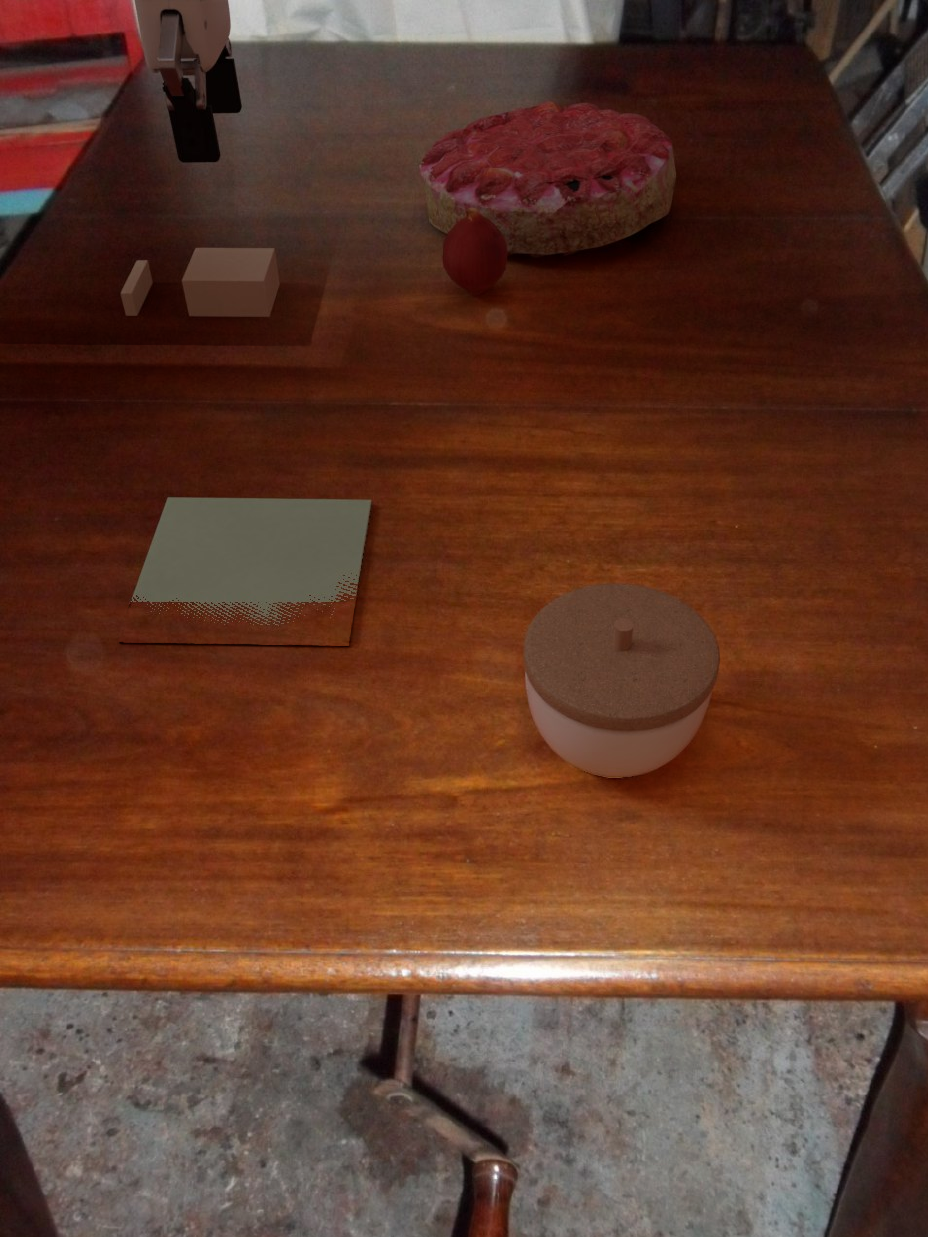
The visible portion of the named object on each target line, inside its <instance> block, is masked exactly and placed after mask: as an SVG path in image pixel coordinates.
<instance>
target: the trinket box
mask: <svg viewBox="0 0 928 1237" xmlns="http://www.w3.org/2000/svg"><path fill="white" fill-rule="evenodd" d="M720 651H721V650H720V645H719V643H718V639H717V637H716V635H715V633H714V631H713V629H712V628H711V625H709V623H708V622H707V621H706V620H705V618H704V617H703V616H702V615H701V614H700V613H698V611H696V609H694V608H693V607H692V606H690V605H689V604H687V603H685V601H682V600H681V599H679V598H677V597H675V596H673V595H671V594H670V593H667V592H665V591H662V590H658V589H656V588H652V587H649V586H645V585H641V584H639V585H638V584H631V583H620V582H618V583H617V582H612V583H611V582H610V583H598V584H591V585H586V586H583V587H579V588H575V589H573V590H570V591H567V592H565V593H564V594H561V595H558V597H556V598H554V599H552V600H551V601H550V602H548V603H546V605H545V606H543V608H541V609H540V610H539V612H538V613H537V614H535V616H534V617H533V618H532V620H531V621H530V623H529V625H528V627H527V629H526V632H525V635H524V640H523V654H522V655H523V656H522V657H523V664H524V678H525V680H524V681H525V690H526V697H527V703H528V707H529V710H530V714H531V716H532V720H533V722H534V725H535V727H536V729H537V731H538V732H539V734H540V735H541V737H542V739H543V741H544V742H545V744H547V746H548V747H549V748H550V749H551V750H552V751H553V752H554V753H555V754H556V755H557V756H558V757H559V758H561V759H562V760H563V761H564V762H566V763H567V764H569V765H571V766H573V767H574V768H576V769H579V770H580V771H583V772H584V771H585V773H587V772H589V773H592V774H595V775H599V776H605V777H628V778H632V776H633V777H636V776H641V775H645V774H648V773H651V772H654V771H656V770H657V769H660V768H661V767H663V766H665V765H667V764H668V763H670V762H671V761H673V760H674V759H676V758H677V757H678V756H679V755H680V754H681V752H683V751H684V749H686V747H687V746H688V745H689V744H690V743H691V742H692V740H693V739H694V737H695V736H696V734H697V732H698V730H699V728H700V727H701V725H702V723H703V721H704V718H705V715H706V713H707V710H708V708H709V705H710V701H711V699H712V698H711V697H712V694H713V690H714V688H715V684H716V682H717V680H718V676H719V670H720V664H721V652H720ZM589 773H588V774H589Z"/></svg>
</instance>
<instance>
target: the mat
mask: <svg viewBox="0 0 928 1237" xmlns="http://www.w3.org/2000/svg"><path fill="white" fill-rule="evenodd" d="M371 505H373V502H372V499H347V498H346V499H343V498H339V499H338V498H265V497H264V498H262V497H260V498H257V497H256V498H255V497H180V496H179V497H178V496H177V497H176V496H173V497H172V496H170V497H169V496H168V497H167V498H166V502H165V504H164V507H163V510H162V511H161V512H162V513H161V515H160V518H159V521H158V524H157V527H156V529H155V532H154V535H153V538H152V541H151V544H150V546H149V548H148V549H149V550H148V552H147V555H146V557H145V561H144V562H143V566H142V568H141V572H140V574H139V577H138V579H137V582H136V585H135V589H134V591H133V593H132V597H131V599H132V601H133V602H136V601H134V599H133V597H134V598H135V599H136V600H137V601H138V602H142V601H143V602H147V601H149V602H150V603H151V604H152V602H160V603H161V602H169V601H170V602H182V603H183V602H188V603H189V604H191V605H192V603H190V602H194V603H195V604H197V605H198V606H200V607H201V608H203V606H201V604H203V605H204V606H206V607H207V608H209V609H211V610H212V609H213V608H210V606H212V607H214V608H215V609H217V610H219V608H216V607H217V606H218V607H220V608H222V609H223V610H225V611H227V612H229V610H226V608H228V609H230V610H232V611H234V612H235V611H236V610H233V609H232V608H230V607H233V608H235V609H236V608H237V607H234V606H235V605H236V606H238V607H240V608H242V609H244V607H241V605H243V606H245V607H247V608H249V609H251V610H253V611H255V612H257V613H259V614H261V615H263V616H265V617H267V618H269V619H272V617H268V616H269V615H271V616H273V617H275V618H277V619H280V620H281V618H278V617H277V615H279V616H281V617H282V615H280V614H278V613H277V612H274V611H271V609H273V610H275V611H278V612H280V613H282V614H284V613H283V612H281V611H279V610H278V609H276V607H277V608H279V609H281V610H284V609H282V608H280V606H277V604H279V605H281V606H283V607H285V606H286V605H282V603H285V604H287V602H291V603H293V604H295V605H298V604H296V603H297V602H299V603H301V602H309V603H311V602H313V601H315V602H318V603H321V602H334V601H336V602H339V601H340V600H336V599H335V598H338V599H341V597H338V596H336V595H337V594H338V595H341V596H343V594H344V593H347V594H349V595H352V596H356V594H357V593H356V592H357V590H353V588H356V589H357V587H358V586H356V585H350V583H354V584H358V582H359V576H360V571H361V572H362V569H361V565H362V566H363V563H362V559H363V560H364V556H363V553H364V554H365V550H364V546H365V547H366V544H365V541H366V542H367V537H366V535H367V536H368V531H367V530H369V525H368V523H369V524H370V518H369V516H370V517H371V512H370V511H372V506H371ZM351 573H352V574H351ZM343 575H345V576H343ZM356 575H357V576H356ZM348 577H350V578H348ZM360 577H361V576H360ZM343 579H344V580H343ZM353 579H355V580H353ZM345 581H349V582H345ZM338 582H340V583H342V584H339V583H338ZM359 583H360V582H359ZM343 584H345V585H347V586H343ZM336 586H339V587H336ZM348 586H350V587H353V588H348ZM355 586H356V587H355ZM341 587H342V588H344V589H347V590H350V591H346V590H343V589H341ZM335 589H336V590H335ZM339 591H341V592H344V593H339ZM351 591H352V592H355V593H356V594H351ZM136 595H137V596H138V597H139V599H137V598H138V597H136ZM309 595H311V596H309ZM331 596H333V597H331ZM143 597H144V598H143ZM314 597H315V598H314ZM324 597H325V598H324ZM344 597H347V598H348V596H344ZM176 598H177V599H176ZM140 599H141V600H140ZM145 599H146V600H145ZM310 599H311V600H310ZM318 599H320V600H318ZM329 599H330V600H329ZM350 599H354V598H350ZM172 600H174V601H172ZM178 600H179V601H178ZM312 600H313V601H312ZM331 600H333V601H331ZM341 600H344V599H341ZM132 601H131V600H130V602H132ZM344 601H346V600H344ZM196 602H198V603H196ZM199 602H200V603H201V604H199ZM205 602H206V603H207V604H209V605H210V606H207V604H204V603H205ZM211 602H212V603H213V604H211ZM222 602H225V603H226V604H228V605H230V606H228V605H224V604H225V603H222ZM230 602H231V603H230ZM235 602H238V603H240V604H241V605H238V603H235ZM242 602H245V603H242ZM250 602H252V603H250ZM258 602H259V603H258ZM266 602H267V603H266ZM278 602H282V603H278ZM218 603H220V604H221V605H223V606H225V607H226V608H223V607H222V606H221V605H220V604H218ZM232 603H233V604H235V605H232ZM246 603H247V604H248V605H245V604H246ZM273 603H277V604H273ZM156 604H157V603H156ZM162 604H163V603H162ZM167 604H168V603H167ZM172 604H174V603H172ZM178 604H179V605H180V603H178ZM184 604H185V605H186V603H184ZM189 604H187V606H188V607H189V608H191V607H190V606H189ZM214 604H215V605H217V606H214ZM253 604H256V605H253ZM269 604H271V605H269ZM302 604H304V605H305V603H302ZM331 604H332V603H331ZM147 605H148V604H147ZM152 605H154V604H152ZM249 605H250V606H252V607H254V608H255V609H258V610H255V609H252V607H249ZM257 605H258V607H256V606H257ZM272 605H273V606H275V607H272ZM287 605H289V606H290V605H291V604H287ZM313 605H315V604H313ZM323 605H326V604H323ZM159 606H160V604H159ZM164 606H165V605H164ZM175 606H176V605H175ZM181 606H182V605H181ZM192 606H194V607H195V608H197V607H198V606H195V605H192ZM298 606H300V605H298ZM150 607H151V606H150ZM155 607H156V606H155ZM160 607H162V606H160ZM183 607H184V608H185V606H183ZM260 607H261V608H260ZM268 607H269V608H268ZM291 607H295V606H291ZM329 607H330V606H329ZM167 608H168V607H167ZM178 608H179V607H178ZM270 608H271V609H270ZM285 608H287V609H289V608H290V607H285ZM302 608H303V607H302ZM152 609H153V608H152ZM158 609H159V608H158ZM163 609H164V608H163ZM168 609H169V608H168ZM180 609H181V608H180ZM185 609H187V608H185ZM191 609H192V610H193V609H194V608H191ZM197 609H198V610H200V608H197ZM203 609H204V610H205V609H206V608H203ZM263 609H265V610H263ZM296 609H299V608H296ZM334 609H335V608H334ZM154 610H155V609H154ZM237 610H239V611H240V612H242V613H244V614H246V612H243V610H240V609H237ZM244 610H245V611H247V609H244ZM251 610H249V611H247V612H249V613H251V614H253V615H255V616H257V617H260V618H262V619H264V618H265V617H261V615H258V614H254V612H251ZM259 610H260V611H262V612H264V613H262V612H259ZM267 610H268V611H270V612H272V613H274V614H276V615H273V614H269V613H270V612H268V611H267ZM290 610H292V609H290ZM317 610H318V609H317ZM160 611H161V610H160ZM166 611H167V610H166ZM177 611H178V610H177ZM182 611H184V610H182ZM188 611H190V610H188ZM194 611H196V610H194ZM200 611H202V610H200ZM206 611H208V610H206ZM212 611H214V612H215V610H212ZM212 611H208V612H209V613H211V612H212ZM219 611H220V612H222V610H219ZM284 611H286V610H284ZM292 611H293V610H292ZM301 611H302V610H301ZM151 612H152V611H151ZM184 612H185V613H186V611H184ZM202 612H203V613H204V612H205V611H202ZM286 612H288V611H286ZM294 612H298V611H294ZM322 612H323V611H322ZM333 612H334V611H333ZM191 613H192V612H191ZM197 613H199V611H198V612H197ZM216 613H217V614H219V615H221V613H218V611H217V612H216ZM222 613H224V614H226V615H227V616H229V617H231V615H228V613H225V612H222ZM229 613H230V614H232V612H229ZM235 613H237V614H238V613H239V612H235ZM288 613H290V612H288ZM159 614H160V613H159ZM181 614H183V613H181ZM187 614H188V615H189V613H187ZM199 614H200V615H201V613H199ZM205 614H206V615H207V613H205ZM211 614H213V615H214V613H211ZM266 614H268V615H266ZM290 614H292V613H290ZM299 614H301V613H299ZM194 615H195V613H194ZM232 615H234V616H235V614H232ZM239 615H242V614H239ZM246 615H248V616H249V615H250V614H246ZM253 615H250V617H252V618H254V619H256V618H257V617H253ZM284 615H287V614H284ZM293 615H295V614H293ZM331 615H333V614H331ZM184 616H185V615H184ZM196 616H198V615H196ZM202 616H203V615H202ZM208 616H210V615H208ZM214 616H216V617H217V615H214ZM221 616H223V617H224V615H221ZM287 616H289V617H291V615H287ZM295 616H296V615H295ZM304 616H305V615H304ZM236 617H237V616H236ZM243 617H245V616H243ZM298 617H299V616H298ZM187 618H188V617H187ZM193 618H194V617H193ZM199 618H200V617H199ZM205 618H206V617H205ZM212 618H213V617H212ZM218 618H220V617H218ZM224 618H226V619H227V617H224ZM231 618H233V617H231ZM245 618H247V619H248V618H249V617H245ZM283 618H286V617H283ZM330 618H331V617H330ZM213 619H214V618H213ZM233 619H234V618H233ZM240 619H241V618H240ZM294 619H295V618H294ZM215 620H216V619H215ZM222 620H223V619H222ZM228 620H230V619H228ZM235 620H236V619H235ZM242 620H244V619H242ZM249 620H251V621H252V619H249ZM256 620H258V621H260V619H256ZM264 620H266V621H268V619H264ZM272 620H274V621H276V619H272ZM288 620H290V619H288ZM204 621H205V620H204ZM211 621H212V620H211ZM217 621H219V620H217ZM223 621H225V622H226V620H223ZM282 621H285V620H282ZM232 622H233V621H232ZM239 622H240V621H239ZM246 622H247V621H246ZM253 622H255V621H253ZM261 622H263V621H261ZM268 622H271V621H268ZM276 622H279V623H280V621H276ZM293 622H294V621H293ZM214 623H215V622H214ZM221 623H222V622H221ZM227 623H229V622H227ZM255 623H257V622H255ZM263 623H265V624H267V622H263ZM287 623H289V622H287ZM250 624H251V623H250ZM257 624H259V623H257ZM273 624H275V622H274V623H273ZM281 624H284V623H281ZM224 625H225V624H224ZM253 625H254V624H253ZM260 625H263V624H260ZM267 625H270V624H267ZM275 625H278V624H275ZM278 626H279V625H278Z"/></svg>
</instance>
